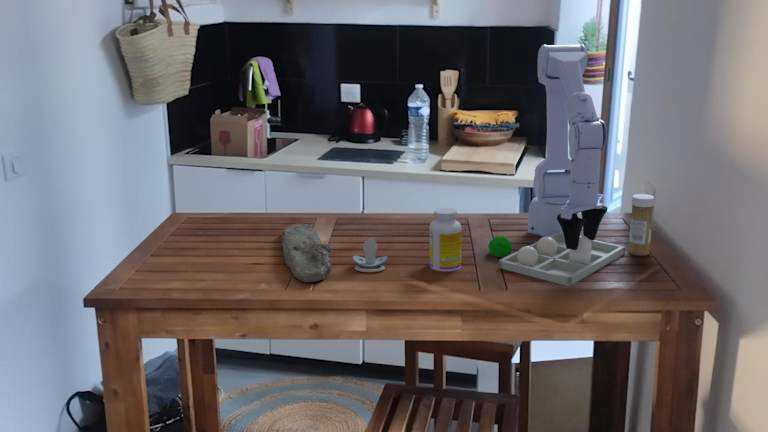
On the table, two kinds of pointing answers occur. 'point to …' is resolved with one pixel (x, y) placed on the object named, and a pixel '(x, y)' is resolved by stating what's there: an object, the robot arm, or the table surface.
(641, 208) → the sprinkles bottle
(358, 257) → the pacifier
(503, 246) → the polyhedron
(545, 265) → the egg tray
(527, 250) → the cream egg front
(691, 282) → the table surface
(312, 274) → the long grey stone
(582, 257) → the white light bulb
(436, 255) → the supplement bottle
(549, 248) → the cream egg middle
